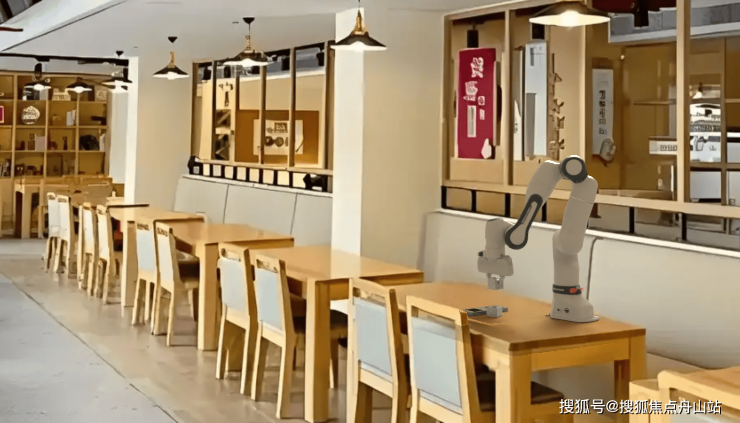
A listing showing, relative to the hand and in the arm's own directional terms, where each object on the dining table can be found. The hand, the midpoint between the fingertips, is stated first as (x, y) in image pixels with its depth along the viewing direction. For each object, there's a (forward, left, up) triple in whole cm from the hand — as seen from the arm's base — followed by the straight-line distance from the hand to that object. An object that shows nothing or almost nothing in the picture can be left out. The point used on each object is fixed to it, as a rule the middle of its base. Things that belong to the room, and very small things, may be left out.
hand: (495, 284), depth 394 cm
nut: (-9, +8, -13) cm, 18 cm away
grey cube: (0, 0, -2) cm, 2 cm away
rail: (0, +6, -13) cm, 15 cm away
